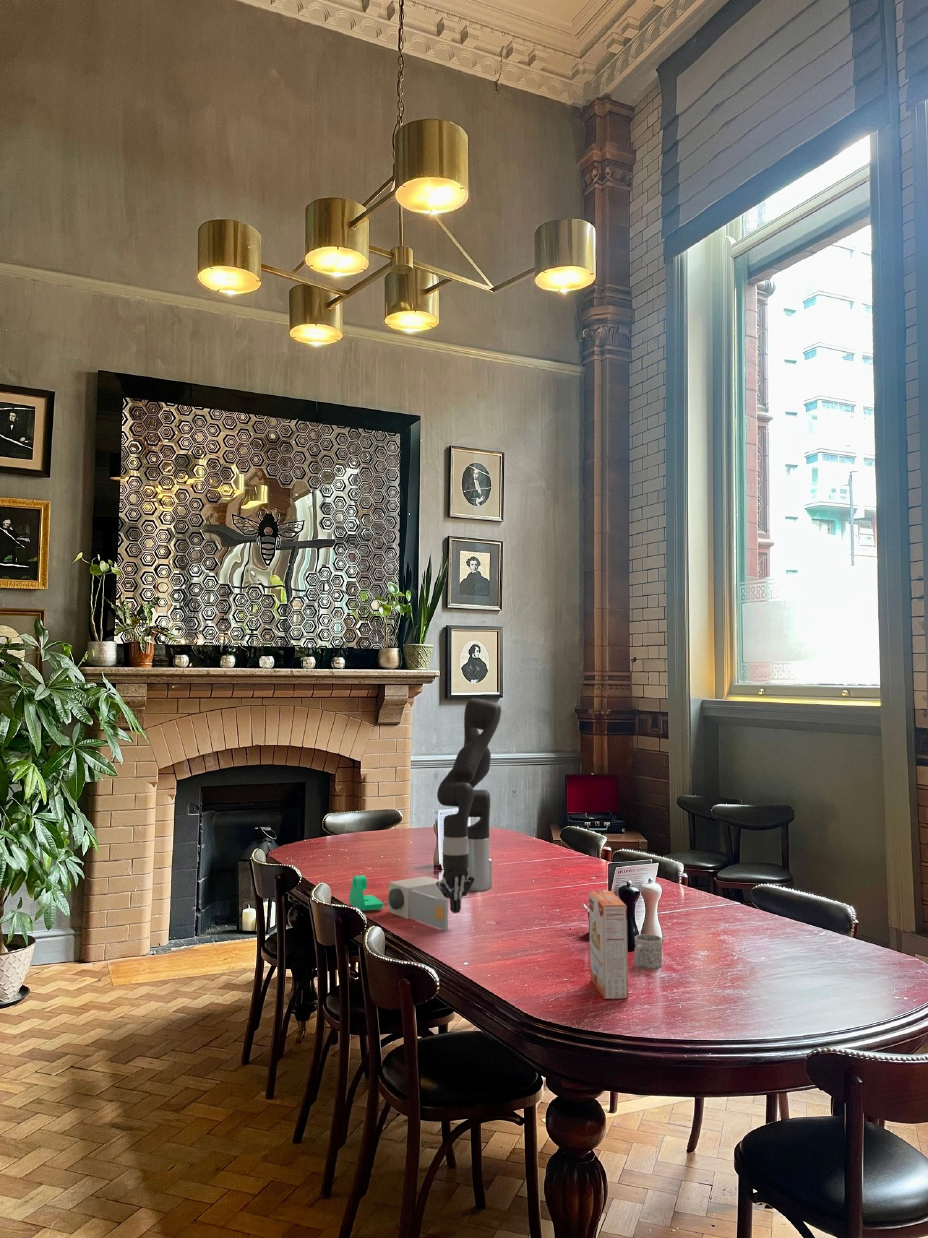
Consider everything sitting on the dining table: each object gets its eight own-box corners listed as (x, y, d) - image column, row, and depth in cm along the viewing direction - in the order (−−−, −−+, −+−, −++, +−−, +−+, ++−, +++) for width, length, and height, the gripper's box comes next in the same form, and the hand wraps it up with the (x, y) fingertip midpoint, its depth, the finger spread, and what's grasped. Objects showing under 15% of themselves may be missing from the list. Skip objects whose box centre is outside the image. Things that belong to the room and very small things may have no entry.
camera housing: (425, 905, 290) (425, 876, 291) (445, 911, 283) (445, 881, 283) (384, 913, 281) (385, 883, 281) (403, 919, 273) (403, 888, 273)
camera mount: (384, 912, 282) (384, 878, 283) (360, 914, 280) (360, 880, 280) (372, 903, 294) (372, 870, 294) (349, 905, 291) (349, 872, 291)
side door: (447, 929, 260) (447, 901, 261) (442, 930, 259) (442, 902, 259) (411, 916, 274) (411, 889, 275) (406, 917, 273) (406, 890, 274)
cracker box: (588, 980, 218) (587, 890, 219) (613, 979, 219) (612, 890, 220) (602, 1001, 204) (601, 905, 206) (629, 1000, 205) (628, 904, 206)
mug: (643, 959, 235) (642, 932, 235) (666, 964, 230) (666, 937, 231) (623, 969, 227) (623, 941, 227) (647, 974, 223) (647, 946, 223)
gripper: (445, 856, 259) (445, 919, 258) (481, 850, 268) (481, 911, 267) (429, 852, 265) (429, 913, 264) (464, 847, 273) (464, 906, 272)
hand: (455, 912), depth 265 cm, fingers closed
